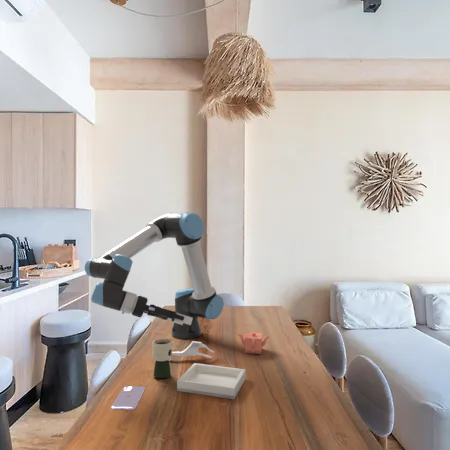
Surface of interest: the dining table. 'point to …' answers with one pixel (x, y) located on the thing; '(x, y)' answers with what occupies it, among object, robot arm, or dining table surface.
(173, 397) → the dining table surface
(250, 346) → the teapot
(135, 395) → the mobile phone
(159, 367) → the character mug
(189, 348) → the white flat pronged piece
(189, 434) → the dining table surface
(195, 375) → the tray
